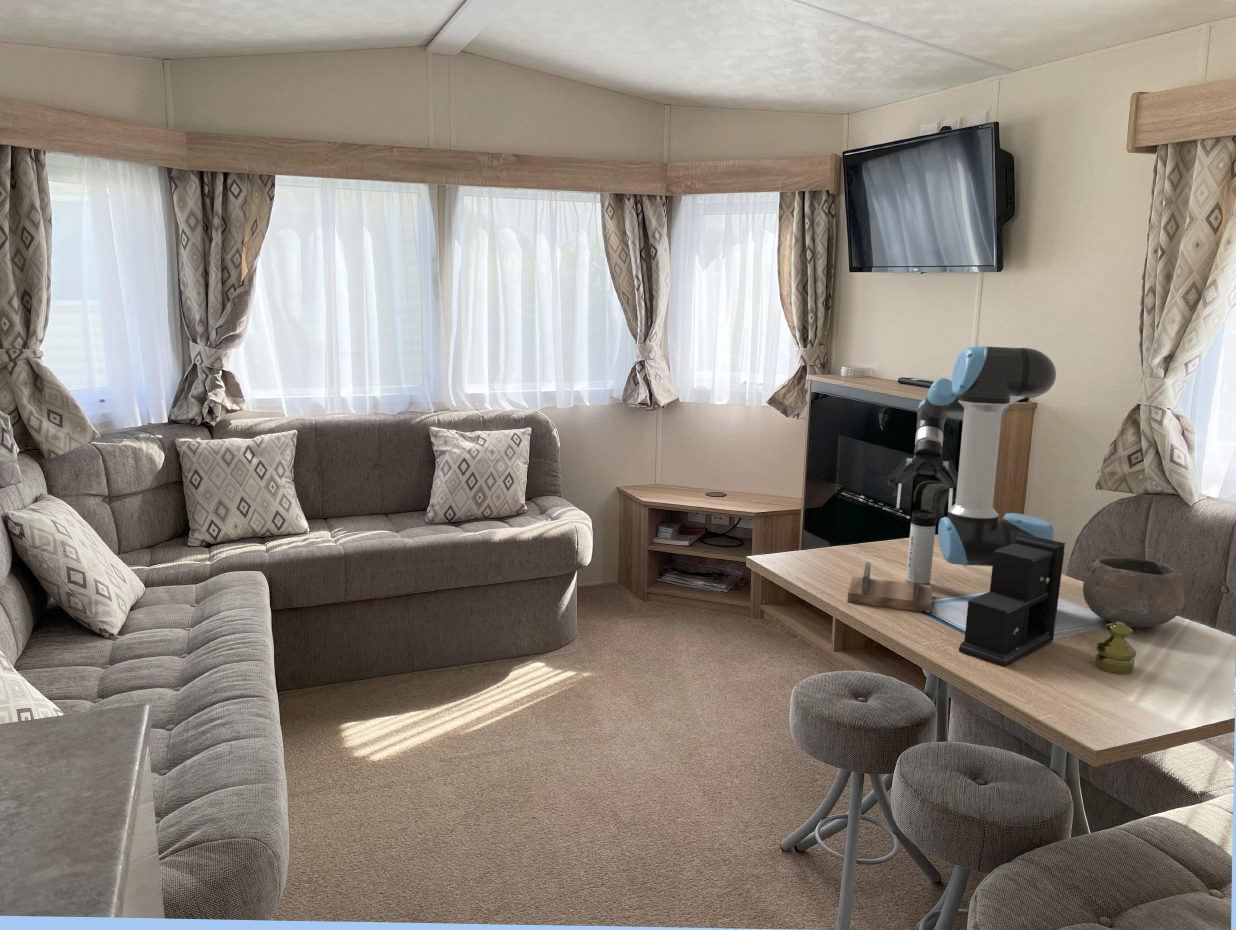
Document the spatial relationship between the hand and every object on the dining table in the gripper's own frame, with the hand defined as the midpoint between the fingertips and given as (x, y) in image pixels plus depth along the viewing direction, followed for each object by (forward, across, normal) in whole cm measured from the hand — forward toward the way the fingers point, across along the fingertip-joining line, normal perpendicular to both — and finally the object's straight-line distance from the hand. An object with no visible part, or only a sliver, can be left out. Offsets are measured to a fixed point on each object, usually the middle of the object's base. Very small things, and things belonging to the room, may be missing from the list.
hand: (923, 508), depth 249 cm
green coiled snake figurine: (+50, -40, +24) cm, 69 cm away
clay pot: (+29, -49, +2) cm, 57 cm away
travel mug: (+20, 0, -6) cm, 21 cm away
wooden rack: (+31, +7, +5) cm, 32 cm away
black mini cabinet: (+48, -19, +21) cm, 56 cm away
